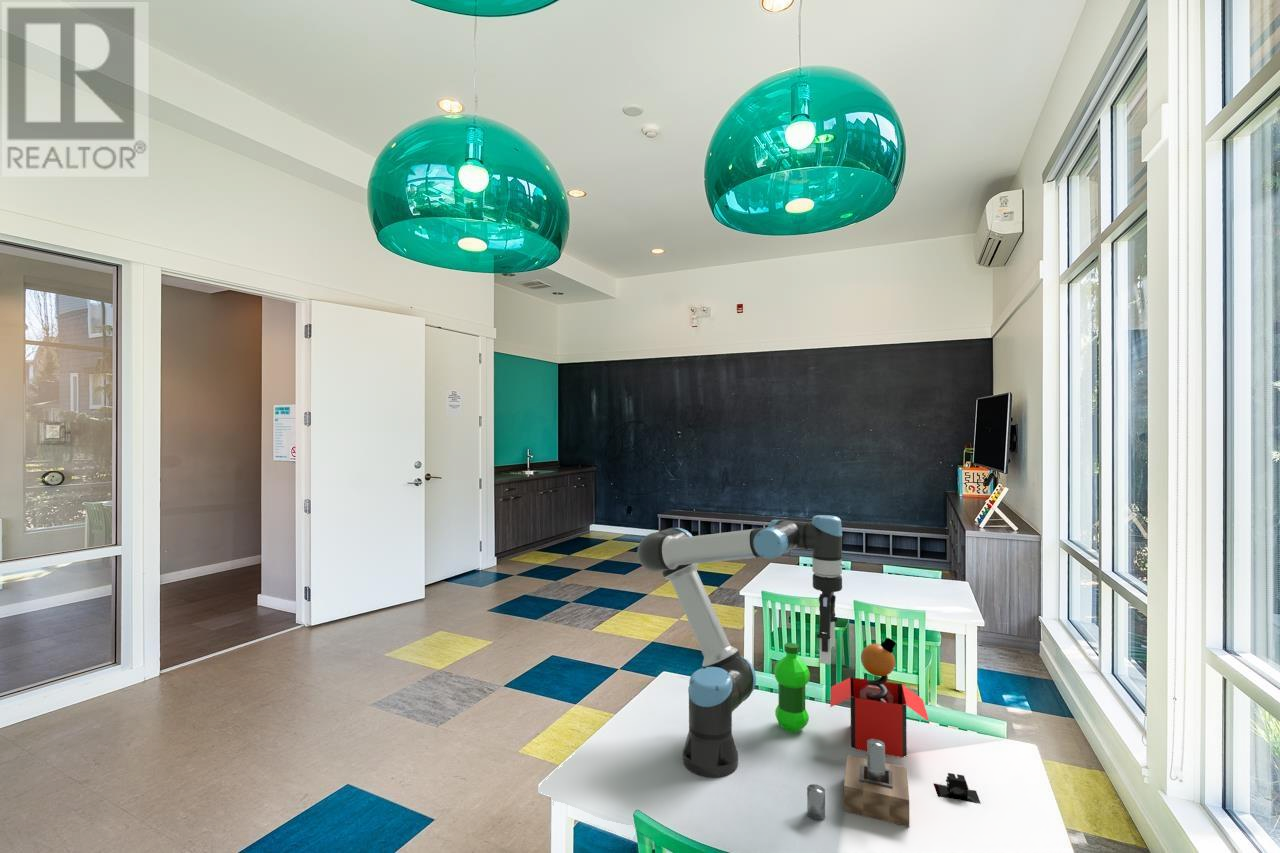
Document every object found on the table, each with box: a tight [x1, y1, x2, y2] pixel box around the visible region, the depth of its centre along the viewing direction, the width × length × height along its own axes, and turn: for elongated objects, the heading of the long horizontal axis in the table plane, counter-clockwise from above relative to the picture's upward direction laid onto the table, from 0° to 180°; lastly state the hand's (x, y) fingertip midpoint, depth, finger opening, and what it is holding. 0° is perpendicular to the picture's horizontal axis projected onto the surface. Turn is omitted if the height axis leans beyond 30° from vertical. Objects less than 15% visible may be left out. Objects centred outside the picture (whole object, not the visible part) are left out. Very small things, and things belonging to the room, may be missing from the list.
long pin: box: [866, 739, 886, 783], centre depth 140 cm, size 4×4×14 cm
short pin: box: [806, 783, 826, 822], centre depth 135 cm, size 4×4×6 cm
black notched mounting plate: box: [933, 772, 982, 805], centre depth 143 cm, size 12×7×5 cm, turn 72°
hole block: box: [843, 755, 910, 828], centre depth 140 cm, size 14×14×6 cm
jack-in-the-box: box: [829, 637, 930, 758], centre depth 169 cm, size 26×16×30 cm, turn 71°
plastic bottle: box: [773, 642, 811, 733], centre depth 175 cm, size 10×10×25 cm
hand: (827, 654), depth 154 cm, fingers open, 13 cm apart
